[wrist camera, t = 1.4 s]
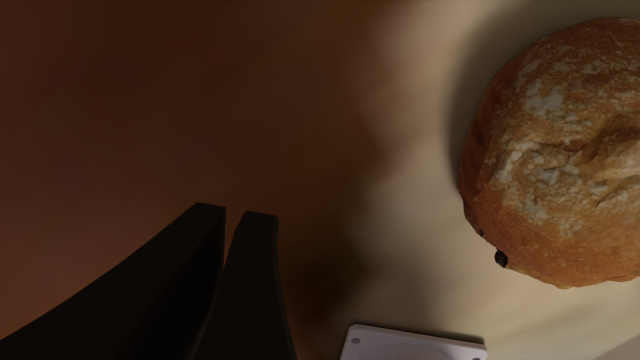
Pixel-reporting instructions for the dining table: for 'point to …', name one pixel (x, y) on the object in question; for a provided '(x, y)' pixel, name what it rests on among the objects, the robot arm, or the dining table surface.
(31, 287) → the dining table surface
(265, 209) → the dining table surface
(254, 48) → the dining table surface
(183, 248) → the robot arm
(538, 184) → the bread roll
